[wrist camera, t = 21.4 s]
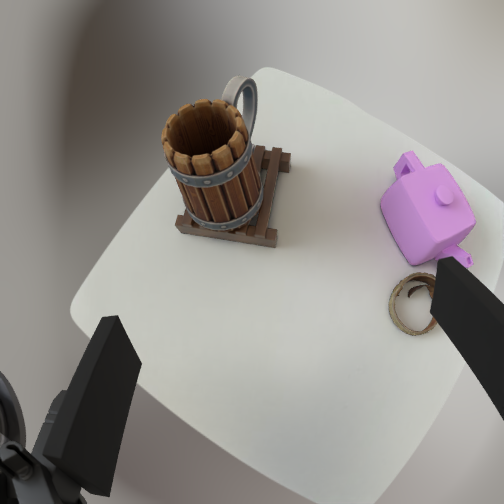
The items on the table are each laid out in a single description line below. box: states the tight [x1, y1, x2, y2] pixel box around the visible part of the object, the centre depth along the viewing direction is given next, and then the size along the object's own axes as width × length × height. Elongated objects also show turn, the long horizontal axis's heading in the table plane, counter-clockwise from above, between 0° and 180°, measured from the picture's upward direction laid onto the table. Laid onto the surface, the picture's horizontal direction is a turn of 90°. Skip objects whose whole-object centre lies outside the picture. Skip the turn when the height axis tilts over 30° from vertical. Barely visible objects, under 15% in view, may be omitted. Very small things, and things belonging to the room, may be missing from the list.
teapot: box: [381, 151, 476, 268], centre depth 38 cm, size 18×10×10 cm, turn 20°
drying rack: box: [175, 145, 291, 248], centre depth 45 cm, size 14×14×4 cm
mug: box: [161, 76, 264, 232], centre depth 36 cm, size 16×11×15 cm
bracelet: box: [389, 272, 438, 336], centre depth 38 cm, size 9×9×3 cm
